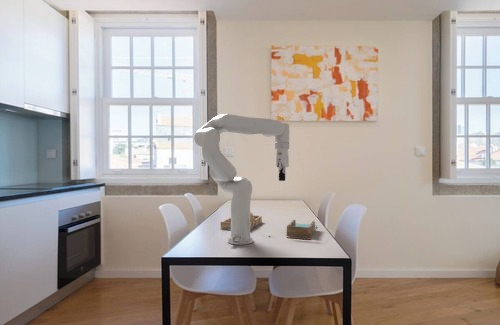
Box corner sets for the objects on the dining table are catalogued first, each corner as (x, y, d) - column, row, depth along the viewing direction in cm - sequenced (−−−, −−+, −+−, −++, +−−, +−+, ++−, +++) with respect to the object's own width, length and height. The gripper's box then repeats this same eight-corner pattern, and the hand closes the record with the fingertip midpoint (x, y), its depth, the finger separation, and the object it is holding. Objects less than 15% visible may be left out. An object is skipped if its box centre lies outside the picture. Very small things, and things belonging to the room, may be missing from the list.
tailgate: (314, 230, 168) (316, 224, 176) (293, 228, 172) (296, 223, 180) (314, 232, 169) (316, 226, 176) (293, 230, 172) (296, 225, 180)
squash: (241, 229, 176) (238, 214, 176) (231, 226, 194) (229, 212, 195) (258, 224, 179) (255, 209, 180) (247, 222, 198) (244, 209, 198)
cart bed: (310, 240, 151) (310, 228, 151) (286, 238, 155) (286, 226, 155) (314, 232, 168) (314, 221, 168) (293, 230, 172) (293, 219, 172)
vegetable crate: (248, 231, 170) (248, 224, 170) (220, 228, 175) (220, 222, 175) (261, 222, 194) (261, 216, 194) (237, 220, 200) (237, 214, 200)
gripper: (286, 145, 153) (285, 181, 154) (291, 146, 168) (291, 180, 168) (271, 145, 156) (271, 181, 156) (278, 147, 170) (278, 179, 170)
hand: (282, 180), depth 162 cm, fingers closed
